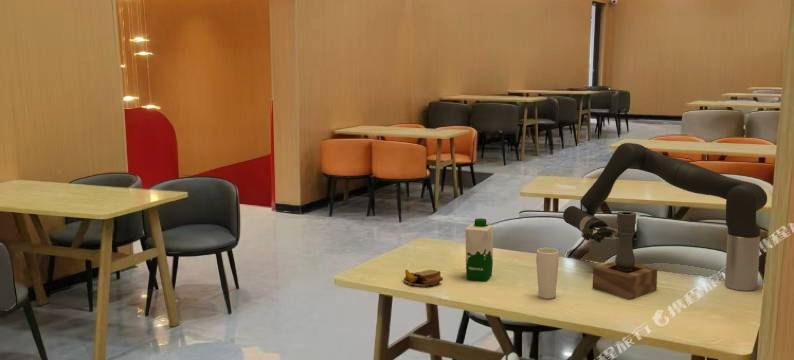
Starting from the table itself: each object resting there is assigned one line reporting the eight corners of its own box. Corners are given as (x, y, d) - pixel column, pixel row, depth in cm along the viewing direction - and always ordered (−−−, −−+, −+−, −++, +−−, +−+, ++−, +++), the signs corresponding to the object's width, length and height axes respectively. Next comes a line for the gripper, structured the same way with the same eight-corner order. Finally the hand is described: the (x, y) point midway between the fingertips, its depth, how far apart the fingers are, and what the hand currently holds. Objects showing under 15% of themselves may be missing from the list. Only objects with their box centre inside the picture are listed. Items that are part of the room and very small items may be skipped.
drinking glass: (545, 301, 213) (546, 254, 211) (531, 295, 219) (531, 249, 217) (562, 297, 216) (563, 251, 214) (548, 291, 222) (549, 246, 220)
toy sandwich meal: (431, 274, 244) (430, 261, 243) (448, 285, 232) (447, 272, 231) (398, 279, 240) (397, 266, 239) (413, 291, 227) (413, 277, 226)
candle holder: (635, 292, 219) (638, 215, 215) (615, 292, 220) (617, 215, 216) (633, 286, 225) (635, 211, 221) (613, 285, 226) (615, 211, 222)
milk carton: (494, 275, 241) (494, 219, 238) (488, 283, 233) (488, 224, 229) (470, 272, 244) (470, 217, 241) (463, 280, 236) (462, 223, 233)
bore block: (619, 279, 232) (620, 259, 231) (656, 290, 221) (657, 269, 220) (592, 288, 224) (592, 267, 223) (629, 299, 213) (630, 277, 212)
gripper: (574, 218, 245) (591, 229, 229) (613, 216, 247) (633, 227, 231) (574, 239, 246) (591, 251, 230) (612, 237, 248) (632, 248, 232)
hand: (612, 239), depth 231 cm, fingers open, 8 cm apart
